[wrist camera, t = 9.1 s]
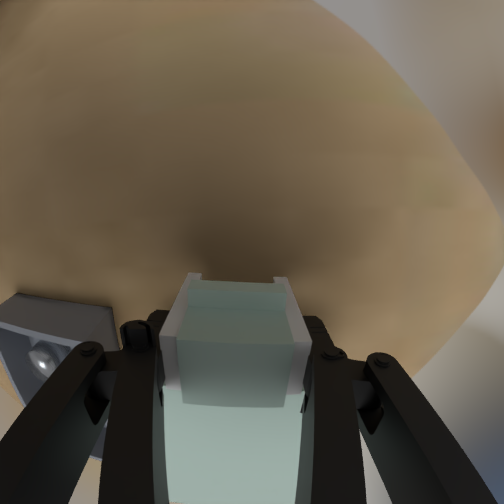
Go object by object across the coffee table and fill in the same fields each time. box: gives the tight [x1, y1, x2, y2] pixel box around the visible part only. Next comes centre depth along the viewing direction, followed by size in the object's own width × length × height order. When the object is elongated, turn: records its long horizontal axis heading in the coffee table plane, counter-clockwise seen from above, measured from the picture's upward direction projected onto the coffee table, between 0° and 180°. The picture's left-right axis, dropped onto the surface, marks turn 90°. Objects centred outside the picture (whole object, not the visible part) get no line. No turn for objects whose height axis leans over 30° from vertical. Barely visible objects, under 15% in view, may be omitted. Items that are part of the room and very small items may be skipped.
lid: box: [162, 279, 305, 504], centre depth 14 cm, size 22×12×4 cm, turn 177°
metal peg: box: [25, 339, 71, 382], centre depth 19 cm, size 3×3×4 cm
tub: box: [0, 293, 119, 461], centre depth 19 cm, size 16×11×5 cm
